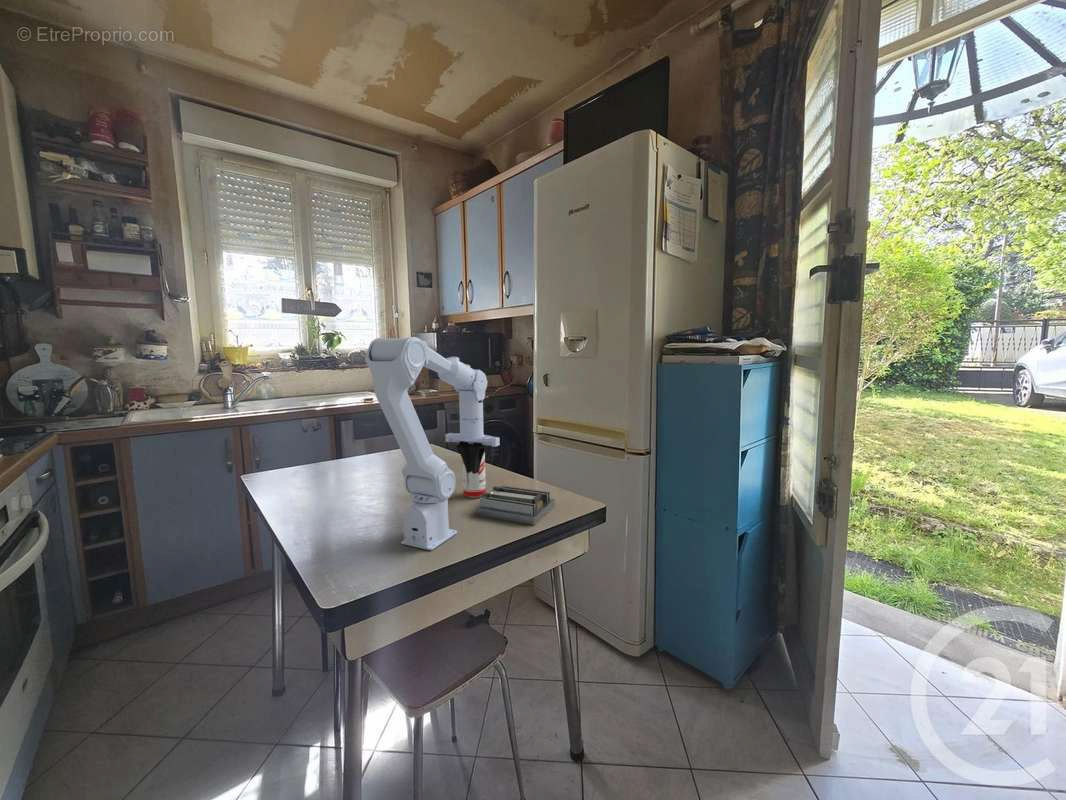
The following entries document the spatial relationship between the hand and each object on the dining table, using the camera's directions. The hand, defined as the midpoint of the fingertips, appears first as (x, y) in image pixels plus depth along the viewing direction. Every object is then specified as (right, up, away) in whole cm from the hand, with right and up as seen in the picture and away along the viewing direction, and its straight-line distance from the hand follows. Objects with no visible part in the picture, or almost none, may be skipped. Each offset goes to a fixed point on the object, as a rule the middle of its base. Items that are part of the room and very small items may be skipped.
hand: (472, 472), depth 106 cm
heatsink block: (+11, -10, +2) cm, 15 cm away
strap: (+10, -7, +2) cm, 12 cm away
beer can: (-1, -9, +14) cm, 16 cm away
